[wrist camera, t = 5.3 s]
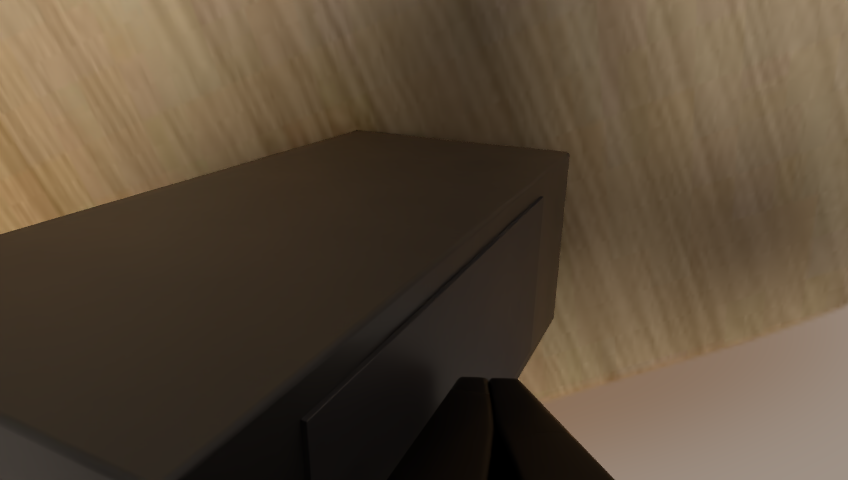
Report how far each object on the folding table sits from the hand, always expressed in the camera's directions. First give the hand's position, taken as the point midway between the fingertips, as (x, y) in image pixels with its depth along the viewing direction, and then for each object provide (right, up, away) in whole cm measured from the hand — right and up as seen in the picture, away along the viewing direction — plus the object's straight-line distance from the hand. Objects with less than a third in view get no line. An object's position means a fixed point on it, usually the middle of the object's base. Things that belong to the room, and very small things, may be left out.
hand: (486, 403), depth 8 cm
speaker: (0, +3, +8) cm, 8 cm away
